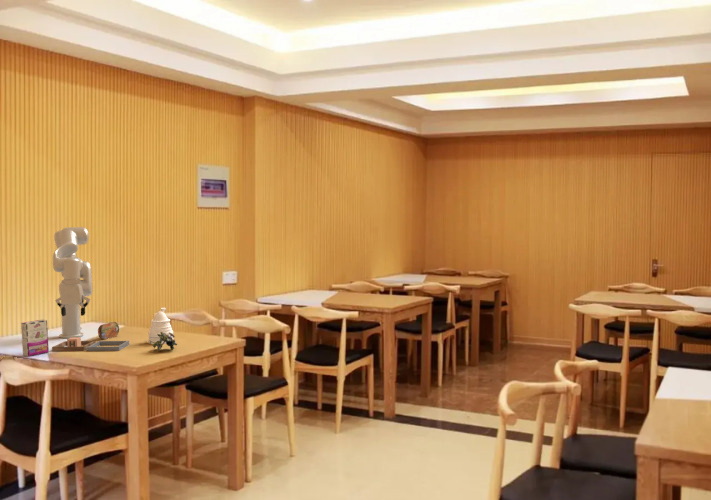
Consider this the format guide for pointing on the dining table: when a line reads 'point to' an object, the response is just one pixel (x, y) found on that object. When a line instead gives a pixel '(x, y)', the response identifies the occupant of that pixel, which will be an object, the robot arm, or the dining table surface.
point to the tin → (108, 330)
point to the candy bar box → (34, 337)
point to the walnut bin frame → (81, 348)
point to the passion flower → (166, 339)
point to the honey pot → (159, 326)
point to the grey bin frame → (112, 348)
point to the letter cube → (74, 342)
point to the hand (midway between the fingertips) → (73, 315)
